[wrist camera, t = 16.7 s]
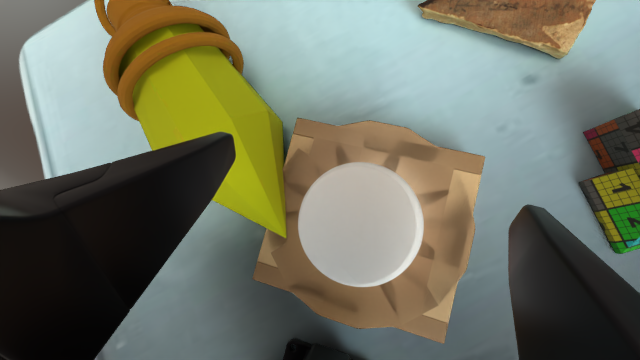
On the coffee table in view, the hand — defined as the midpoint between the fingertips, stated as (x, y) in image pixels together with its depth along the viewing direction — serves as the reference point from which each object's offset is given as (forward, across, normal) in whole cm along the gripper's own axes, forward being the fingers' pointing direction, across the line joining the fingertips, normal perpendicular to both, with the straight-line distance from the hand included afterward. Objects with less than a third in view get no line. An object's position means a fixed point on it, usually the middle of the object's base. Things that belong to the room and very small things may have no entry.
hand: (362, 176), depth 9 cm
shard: (+21, -7, -1) cm, 22 cm away
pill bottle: (+9, 0, +11) cm, 14 cm away
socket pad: (+9, 0, +11) cm, 14 cm away
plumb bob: (+13, +14, +7) cm, 20 cm away
